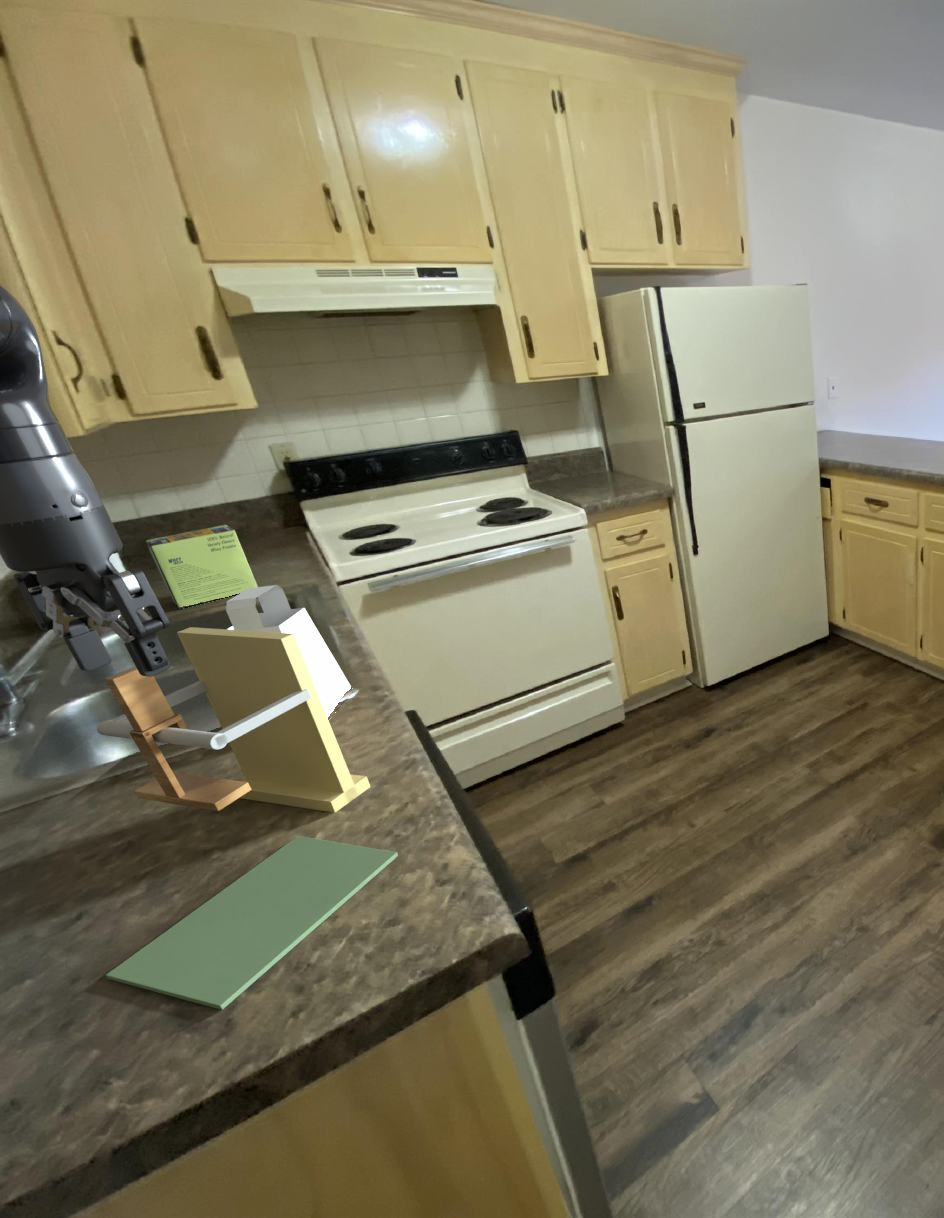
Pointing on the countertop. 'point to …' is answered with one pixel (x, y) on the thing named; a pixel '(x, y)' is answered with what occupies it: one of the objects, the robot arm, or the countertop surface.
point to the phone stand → (147, 718)
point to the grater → (300, 624)
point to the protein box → (202, 565)
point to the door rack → (262, 718)
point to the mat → (252, 922)
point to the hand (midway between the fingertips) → (127, 670)
